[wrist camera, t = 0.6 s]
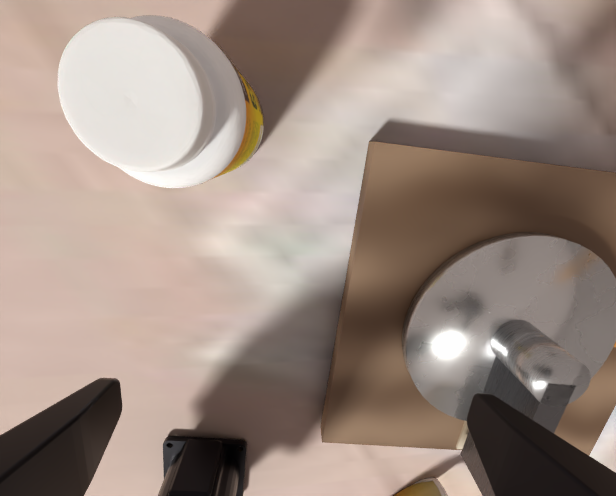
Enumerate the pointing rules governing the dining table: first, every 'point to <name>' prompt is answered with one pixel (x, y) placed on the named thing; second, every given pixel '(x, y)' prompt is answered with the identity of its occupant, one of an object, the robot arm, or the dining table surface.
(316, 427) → the dining table surface
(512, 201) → the dial base
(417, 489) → the sunglasses
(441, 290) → the dial
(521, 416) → the robot arm
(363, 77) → the dining table surface
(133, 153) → the supplement bottle
